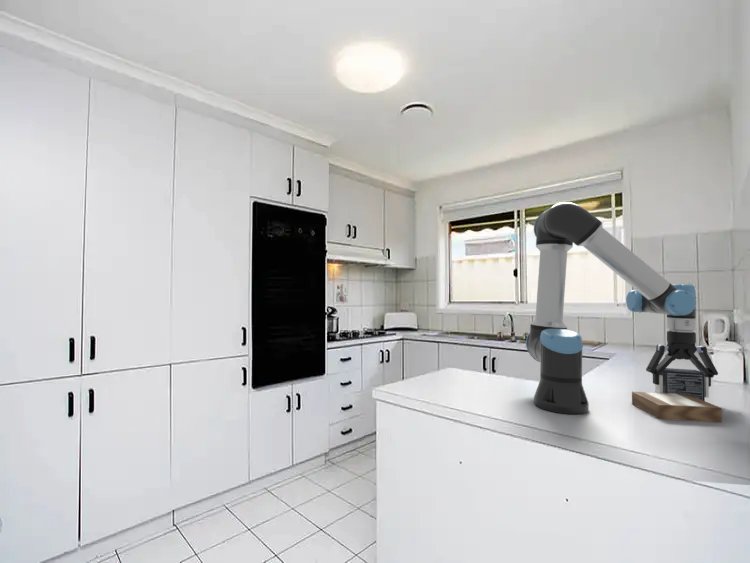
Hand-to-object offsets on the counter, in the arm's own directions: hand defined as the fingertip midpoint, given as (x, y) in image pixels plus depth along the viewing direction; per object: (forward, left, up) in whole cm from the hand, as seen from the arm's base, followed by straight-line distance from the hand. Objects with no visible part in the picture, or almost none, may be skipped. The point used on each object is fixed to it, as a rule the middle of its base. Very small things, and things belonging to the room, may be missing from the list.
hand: (681, 395), depth 125 cm
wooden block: (-10, -13, -2) cm, 17 cm away
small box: (0, 0, -2) cm, 2 cm away
